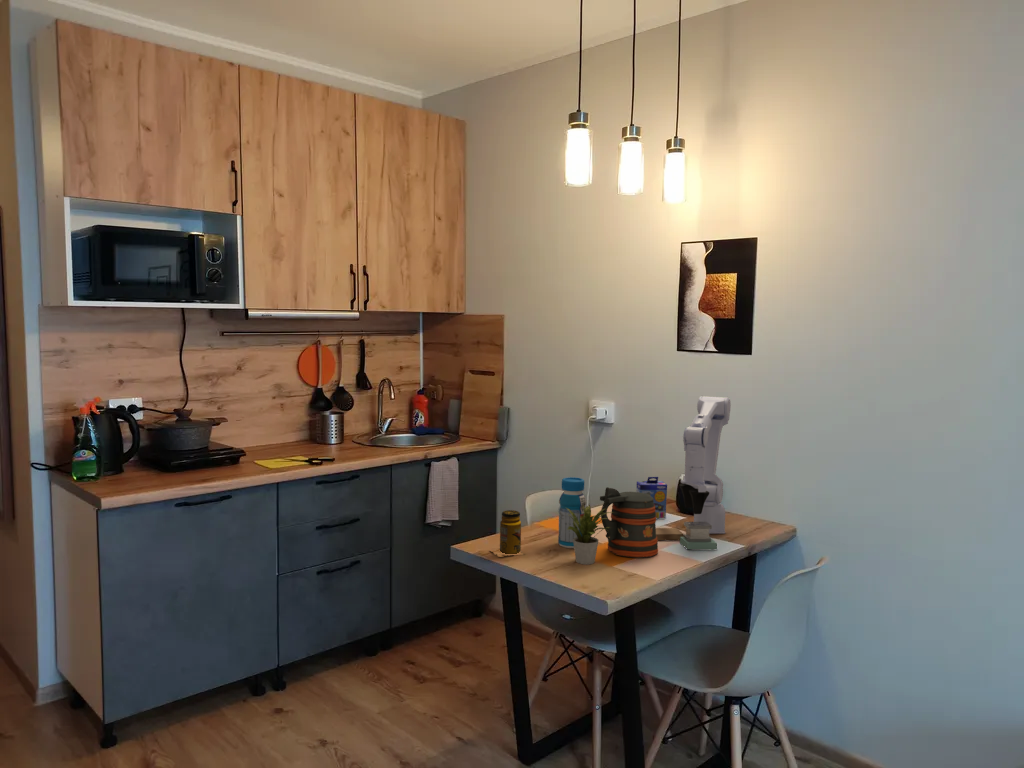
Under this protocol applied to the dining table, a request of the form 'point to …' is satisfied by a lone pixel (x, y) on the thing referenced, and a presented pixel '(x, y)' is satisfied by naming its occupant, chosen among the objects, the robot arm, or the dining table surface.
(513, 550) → the condiment
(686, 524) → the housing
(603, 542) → the dining table surface
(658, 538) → the stand
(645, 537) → the beer stein
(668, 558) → the dining table surface
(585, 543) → the house plant
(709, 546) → the stand
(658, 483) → the ink cartridge box
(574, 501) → the beverage bottle
